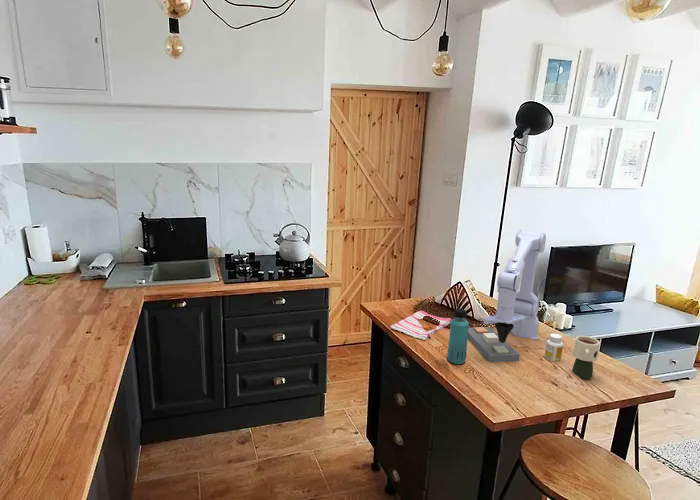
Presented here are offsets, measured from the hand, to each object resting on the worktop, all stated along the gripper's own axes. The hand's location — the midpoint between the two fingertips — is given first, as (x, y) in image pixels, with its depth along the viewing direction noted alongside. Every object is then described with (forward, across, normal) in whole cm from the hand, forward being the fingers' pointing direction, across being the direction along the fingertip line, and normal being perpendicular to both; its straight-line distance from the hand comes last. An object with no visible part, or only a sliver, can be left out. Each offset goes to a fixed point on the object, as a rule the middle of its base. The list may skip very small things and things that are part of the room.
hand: (501, 341), depth 160 cm
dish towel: (+8, -20, +31) cm, 37 cm away
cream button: (+5, 0, +8) cm, 10 cm away
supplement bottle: (+7, +19, -3) cm, 20 cm away
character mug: (+7, +23, -14) cm, 28 cm away
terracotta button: (+6, 0, +17) cm, 18 cm away
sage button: (+6, 0, 0) cm, 6 cm away
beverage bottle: (+7, -17, -2) cm, 19 cm away
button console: (+7, 0, +8) cm, 11 cm away
